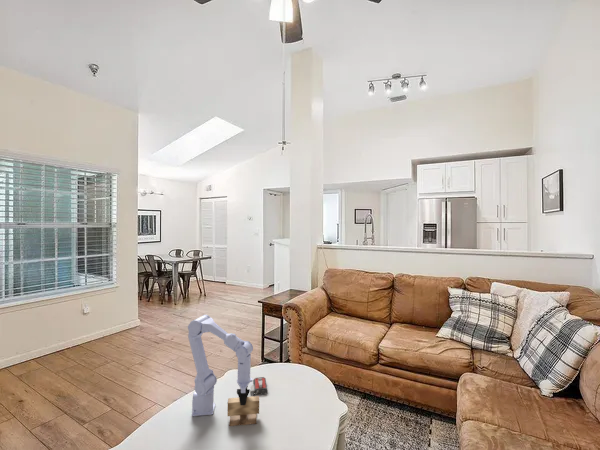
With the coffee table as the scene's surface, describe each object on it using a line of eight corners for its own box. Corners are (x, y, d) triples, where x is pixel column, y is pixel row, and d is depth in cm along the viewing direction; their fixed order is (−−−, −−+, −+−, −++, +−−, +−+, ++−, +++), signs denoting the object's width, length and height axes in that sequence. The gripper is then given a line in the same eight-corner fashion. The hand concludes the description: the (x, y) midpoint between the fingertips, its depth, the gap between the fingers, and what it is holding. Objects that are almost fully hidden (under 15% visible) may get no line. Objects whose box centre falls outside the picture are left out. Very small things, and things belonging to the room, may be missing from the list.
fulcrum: (228, 426, 128) (229, 419, 127) (230, 414, 135) (230, 407, 135) (256, 423, 129) (256, 417, 129) (256, 412, 137) (256, 405, 137)
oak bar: (227, 416, 130) (227, 402, 129) (228, 411, 133) (228, 398, 133) (259, 413, 132) (259, 400, 132) (258, 408, 135) (259, 395, 135)
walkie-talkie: (249, 382, 163) (250, 404, 144) (250, 374, 163) (250, 395, 144) (265, 381, 165) (268, 402, 145) (265, 373, 165) (268, 394, 145)
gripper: (252, 378, 126) (252, 409, 126) (253, 361, 140) (252, 389, 140) (236, 379, 125) (235, 410, 125) (238, 362, 139) (237, 390, 139)
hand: (243, 399), depth 132 cm, fingers open, 7 cm apart
